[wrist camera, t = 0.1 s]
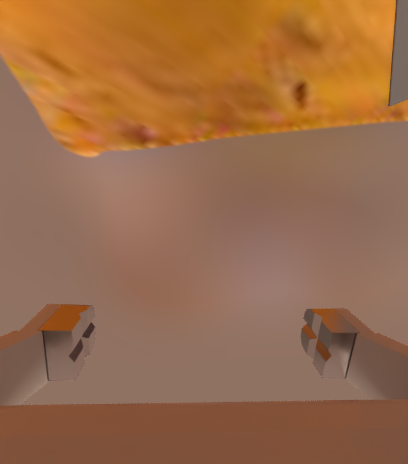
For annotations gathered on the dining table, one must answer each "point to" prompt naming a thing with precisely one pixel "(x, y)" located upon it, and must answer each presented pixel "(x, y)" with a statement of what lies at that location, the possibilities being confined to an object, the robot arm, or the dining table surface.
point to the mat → (400, 55)
